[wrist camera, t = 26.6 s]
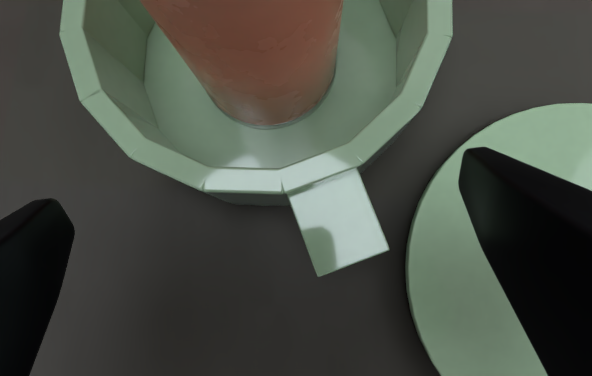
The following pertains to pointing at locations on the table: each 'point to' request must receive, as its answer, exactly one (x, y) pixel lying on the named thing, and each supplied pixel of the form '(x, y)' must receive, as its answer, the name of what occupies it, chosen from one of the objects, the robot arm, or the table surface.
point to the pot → (265, 142)
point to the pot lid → (469, 255)
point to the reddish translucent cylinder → (256, 53)
